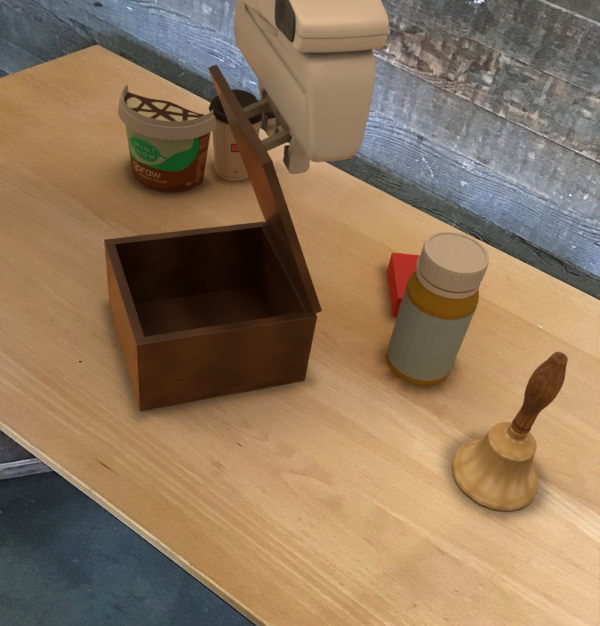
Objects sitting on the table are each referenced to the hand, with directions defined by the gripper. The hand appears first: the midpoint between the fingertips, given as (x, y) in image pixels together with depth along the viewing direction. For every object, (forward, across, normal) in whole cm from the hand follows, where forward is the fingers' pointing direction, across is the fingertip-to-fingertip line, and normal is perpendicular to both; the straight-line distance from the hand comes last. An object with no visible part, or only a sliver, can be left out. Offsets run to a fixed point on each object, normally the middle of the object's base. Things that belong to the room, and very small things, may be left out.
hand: (284, 150), depth 64 cm
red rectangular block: (+22, -2, +20) cm, 30 cm away
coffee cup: (+22, -30, +6) cm, 38 cm away
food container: (+22, -30, -4) cm, 37 cm away
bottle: (+22, +8, +15) cm, 28 cm away
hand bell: (+23, +22, +16) cm, 36 cm away
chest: (+22, 0, -6) cm, 23 cm away
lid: (+4, 0, -1) cm, 5 cm away
